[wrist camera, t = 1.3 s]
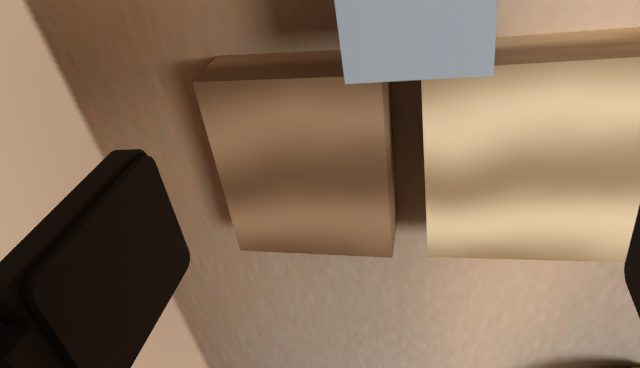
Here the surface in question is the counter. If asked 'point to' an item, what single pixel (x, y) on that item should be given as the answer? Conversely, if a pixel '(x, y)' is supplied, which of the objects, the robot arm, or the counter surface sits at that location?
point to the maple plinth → (537, 151)
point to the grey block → (416, 39)
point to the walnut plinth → (301, 153)
